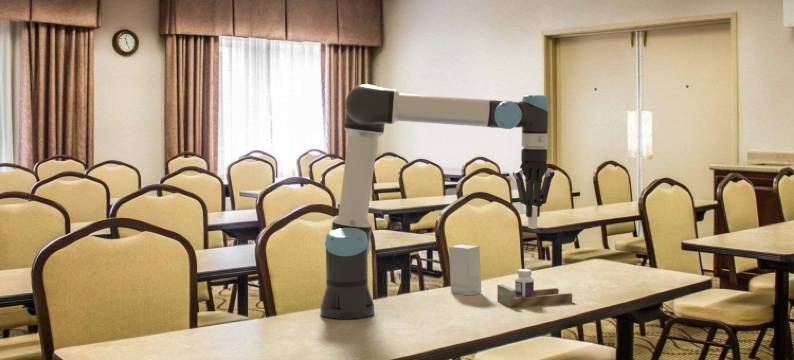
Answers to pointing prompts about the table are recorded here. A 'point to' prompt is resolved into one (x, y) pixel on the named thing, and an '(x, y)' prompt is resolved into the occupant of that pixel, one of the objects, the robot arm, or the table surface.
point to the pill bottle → (524, 284)
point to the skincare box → (465, 269)
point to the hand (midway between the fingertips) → (532, 228)
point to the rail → (532, 297)
